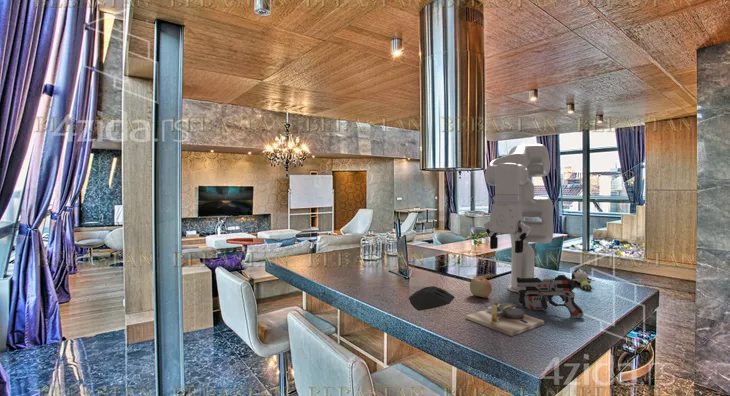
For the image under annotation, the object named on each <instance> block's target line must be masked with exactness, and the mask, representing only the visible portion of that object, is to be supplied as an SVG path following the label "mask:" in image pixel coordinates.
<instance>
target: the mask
mask: <svg viewBox="0 0 730 396" xmlns="http://www.w3.org/2000/svg"><path fill="white" fill-rule="evenodd" d="M455 298H456V297H455V296H454V295H453V294H452V293H449V292H448V291H446V290H445V289H443V288H441V287H438V286H435V285H431V286H426V287H423V288H421V289H418V290H417V291H415V292H414V293H413V294H411V295H410V296H408V300H410V301H409V302H410V305H411V306H412V307H413V308H414V309H416V311H418V312H419V311H426V310H431V309H436V308H440V307H443V306H448V305H449V304H451V303H452V302H453V300H454V299H455Z"/></svg>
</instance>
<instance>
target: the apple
mask: <svg viewBox="0 0 730 396" xmlns="http://www.w3.org/2000/svg"><path fill="white" fill-rule="evenodd" d="M492 287H493V286H492V283H491V282H490V280H488V279H487V278H485V277H480V276H476V277H474V278H472V279H471V280H470V283H469V289H470V291H469V292H470V293H471V294H472V295H473V296H476V297H481V298H488V297H489V296H490V294H491V293H492Z"/></svg>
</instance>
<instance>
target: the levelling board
mask: <svg viewBox="0 0 730 396" xmlns="http://www.w3.org/2000/svg"><path fill="white" fill-rule="evenodd" d="M500 304H501V303H498V302H494V303H493V305H497V312H499V305H500ZM486 307H487V308H486V309H483V310H480V311H477V312H473V313H470V314H466V315H465V316H466V320H469V321H472V322H474V323H477V324H479V325H482V326H484V327H487V328H490V329H492V330H495V331H498V332H500V333H501V334H505V335H507V336H510V337H513V336H516V335H518V334H521V333H524V332H527V331H530V330H532V329H535V328H537V327H540V326H543V325H545V320H543V319H539V318H536V317H534V316H530V315H528V314H525V313H524V317H523V318H521V319H510V318H506V317H503V316H499V317H497V321H492V305H491V306H486Z"/></svg>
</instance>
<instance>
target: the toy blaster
mask: <svg viewBox="0 0 730 396" xmlns="http://www.w3.org/2000/svg"><path fill="white" fill-rule="evenodd" d="M517 283H518V284H517V287H526V290H520V291H519V293H518V295H519V296H518V303H519V305H520V304H521V306H522V307H526V308H527V309H528V310H530V311H531V310H532V311H534V310H535V311H536V310H537V311H546V310H547V309H548V308H549V307H548V306H549V305H548V304H550V305H552V306H553V307H566V309H567V310H568V312H569V316H570V318H571V319H582V318H584V316H585V315H584V311H583V309H582V308H581V307H580V306H579V305H578V304H576V301H575V297H576V293H575V292H574V291H573V290H575V288H578V285H577V284H575V281H574V280H573V279H571V278H569V277H568V276H566V275H565V274H559V275H557V276H556V277H554V278H543V279H540V278H539V277H534V278H532V279H531V278H519V277H517ZM554 296H556V297H557V296H559V297H560V299H561V301H562V302H563V304H561V303H556V302H555V301H553V297H554Z"/></svg>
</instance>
